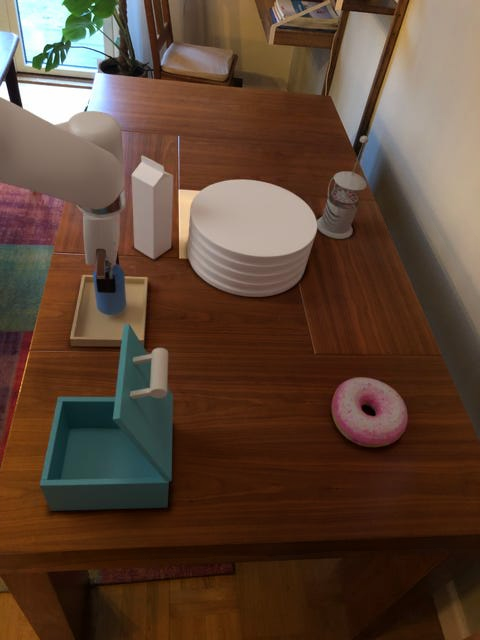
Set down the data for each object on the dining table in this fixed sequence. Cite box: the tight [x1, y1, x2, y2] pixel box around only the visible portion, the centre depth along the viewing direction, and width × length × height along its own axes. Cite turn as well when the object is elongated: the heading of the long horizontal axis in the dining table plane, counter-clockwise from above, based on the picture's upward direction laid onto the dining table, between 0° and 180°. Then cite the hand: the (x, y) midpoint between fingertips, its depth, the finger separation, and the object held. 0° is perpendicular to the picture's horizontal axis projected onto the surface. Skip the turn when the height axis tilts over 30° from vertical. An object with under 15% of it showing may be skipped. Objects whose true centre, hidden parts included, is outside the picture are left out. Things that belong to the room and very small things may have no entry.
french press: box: [316, 135, 369, 240], centre depth 116 cm, size 10×12×25 cm
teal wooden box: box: [39, 396, 170, 512], centre depth 71 cm, size 17×14×9 cm
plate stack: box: [187, 179, 318, 298], centre depth 108 cm, size 28×28×12 cm
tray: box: [69, 274, 149, 348], centre depth 94 cm, size 17×13×2 cm
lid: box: [113, 324, 174, 482], centre depth 62 cm, size 17×14×5 cm
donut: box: [330, 376, 409, 448], centre depth 84 cm, size 14×13×5 cm
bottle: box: [92, 259, 126, 315], centre depth 89 cm, size 6×6×12 cm
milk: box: [131, 154, 174, 260], centre depth 102 cm, size 6×6×22 cm
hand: (108, 278), depth 88 cm, fingers closed on bottle, 5 cm apart
